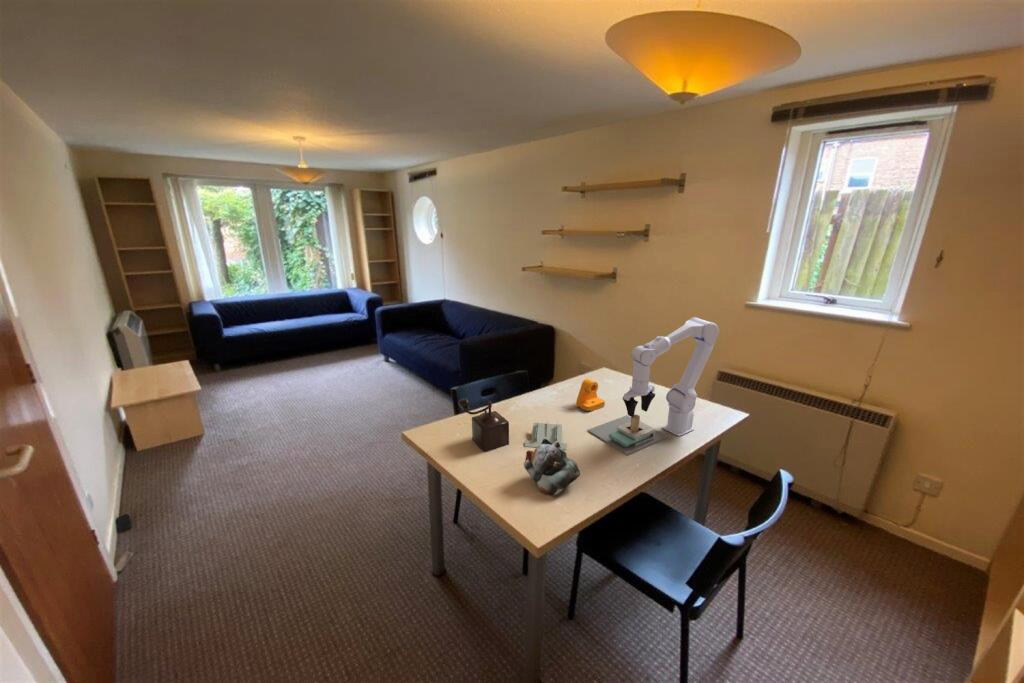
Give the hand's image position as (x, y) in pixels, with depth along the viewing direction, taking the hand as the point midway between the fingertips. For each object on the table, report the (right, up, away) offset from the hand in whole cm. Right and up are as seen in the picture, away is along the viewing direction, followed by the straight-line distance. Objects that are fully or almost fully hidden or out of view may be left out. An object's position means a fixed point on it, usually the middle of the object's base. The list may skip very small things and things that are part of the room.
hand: (637, 413), depth 147 cm
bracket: (-12, -2, +27) cm, 30 cm away
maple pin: (-1, -9, +1) cm, 10 cm away
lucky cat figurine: (-34, -18, -23) cm, 45 cm away
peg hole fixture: (-2, -10, 0) cm, 10 cm away
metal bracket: (-34, -11, +1) cm, 35 cm away
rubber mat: (-3, -9, +4) cm, 10 cm away
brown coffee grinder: (-57, -11, -2) cm, 58 cm away
